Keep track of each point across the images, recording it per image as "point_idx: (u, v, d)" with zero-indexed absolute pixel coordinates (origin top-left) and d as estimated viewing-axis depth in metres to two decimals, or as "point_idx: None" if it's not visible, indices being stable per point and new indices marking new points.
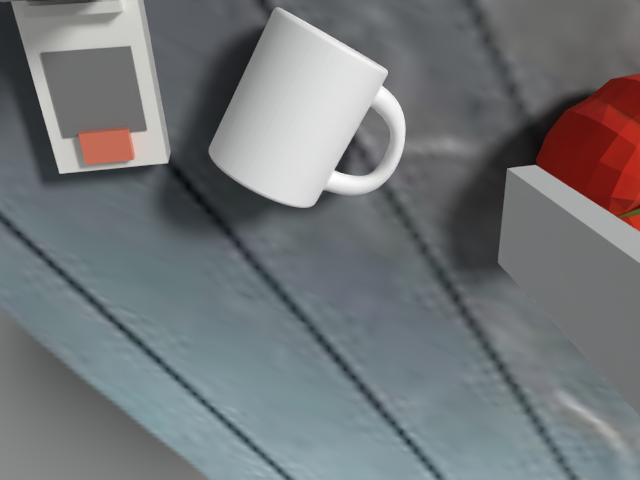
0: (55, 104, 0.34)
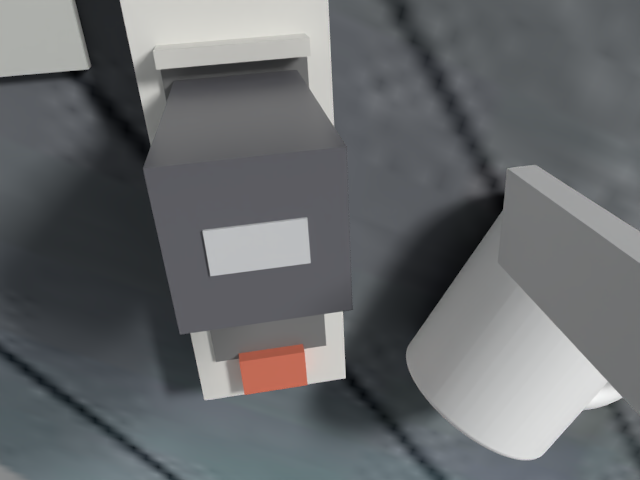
0: None
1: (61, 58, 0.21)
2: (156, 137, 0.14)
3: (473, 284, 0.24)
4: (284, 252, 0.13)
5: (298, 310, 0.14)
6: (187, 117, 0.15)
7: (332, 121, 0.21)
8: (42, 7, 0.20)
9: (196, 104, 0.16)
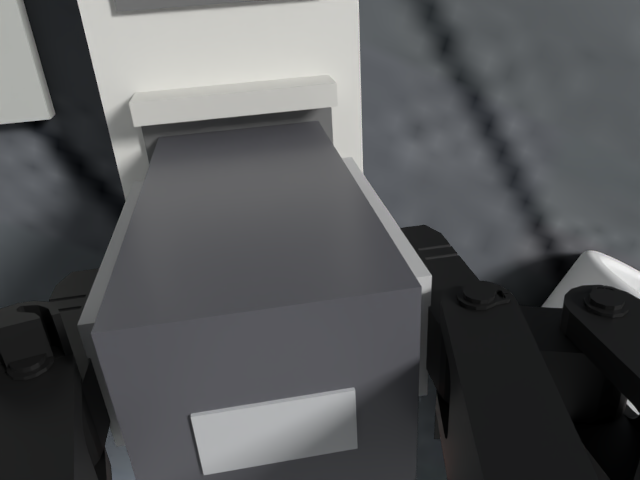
0: None
1: (15, 106, 0.16)
2: (122, 253, 0.09)
3: None
4: (318, 435, 0.08)
5: None
6: (171, 209, 0.10)
7: None
8: None
9: (185, 182, 0.12)
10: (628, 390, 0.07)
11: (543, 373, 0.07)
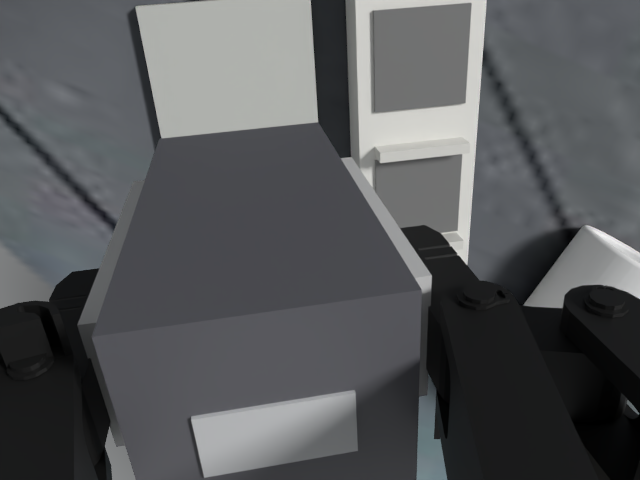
0: None
1: None
2: (123, 255, 0.09)
3: (554, 291, 0.36)
4: (318, 437, 0.09)
5: None
6: (172, 211, 0.10)
7: (472, 188, 0.34)
8: (300, 121, 0.32)
9: (186, 184, 0.12)
10: (628, 390, 0.07)
11: (543, 373, 0.07)
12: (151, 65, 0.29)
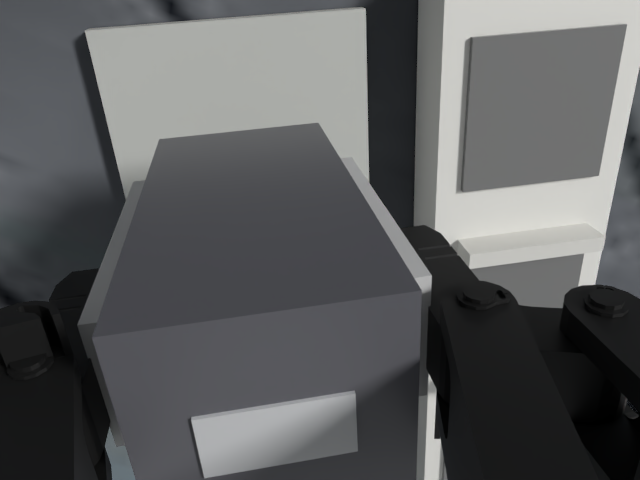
0: None
1: None
2: (123, 256, 0.09)
3: None
4: (318, 438, 0.09)
5: None
6: (172, 212, 0.10)
7: None
8: None
9: (186, 184, 0.12)
10: (628, 390, 0.07)
11: (543, 373, 0.07)
12: (114, 121, 0.19)
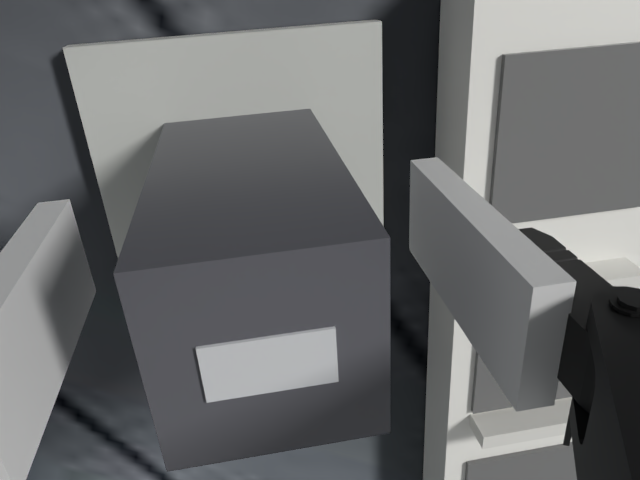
0: None
1: None
2: (136, 215, 0.10)
3: None
4: (304, 369, 0.10)
5: (321, 436, 0.11)
6: (178, 181, 0.12)
7: None
8: None
9: (190, 160, 0.13)
10: None
11: None
12: (97, 149, 0.16)
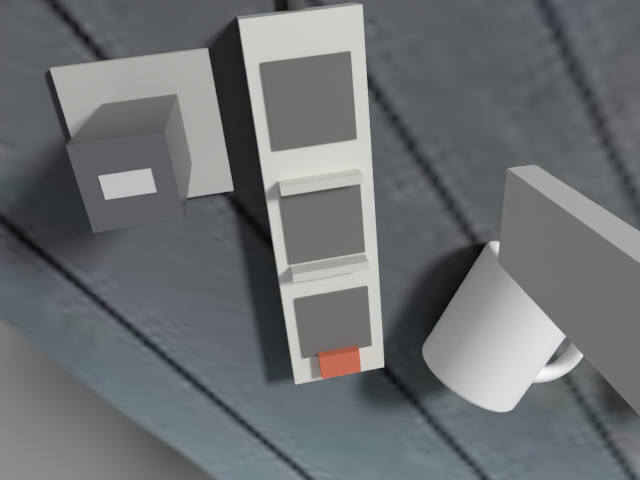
0: (300, 334, 0.40)
1: (219, 186, 0.36)
2: (78, 132, 0.27)
3: (462, 304, 0.39)
4: (142, 186, 0.26)
5: (155, 219, 0.27)
6: (98, 123, 0.28)
7: (374, 213, 0.37)
8: (211, 160, 0.35)
9: (107, 116, 0.29)
10: None
11: None
12: (69, 118, 0.33)
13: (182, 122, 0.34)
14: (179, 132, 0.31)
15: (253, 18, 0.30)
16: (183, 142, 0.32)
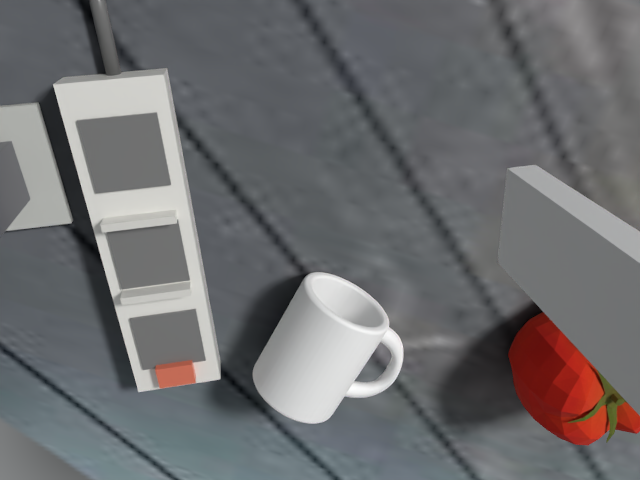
0: (138, 349, 0.45)
1: (58, 219, 0.41)
2: None
3: (280, 327, 0.45)
4: None
5: None
6: None
7: (195, 247, 0.42)
8: (48, 197, 0.40)
9: None
10: None
11: None
12: None
13: (17, 165, 0.39)
14: (3, 177, 0.36)
15: (66, 83, 0.35)
16: (12, 184, 0.37)
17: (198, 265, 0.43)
